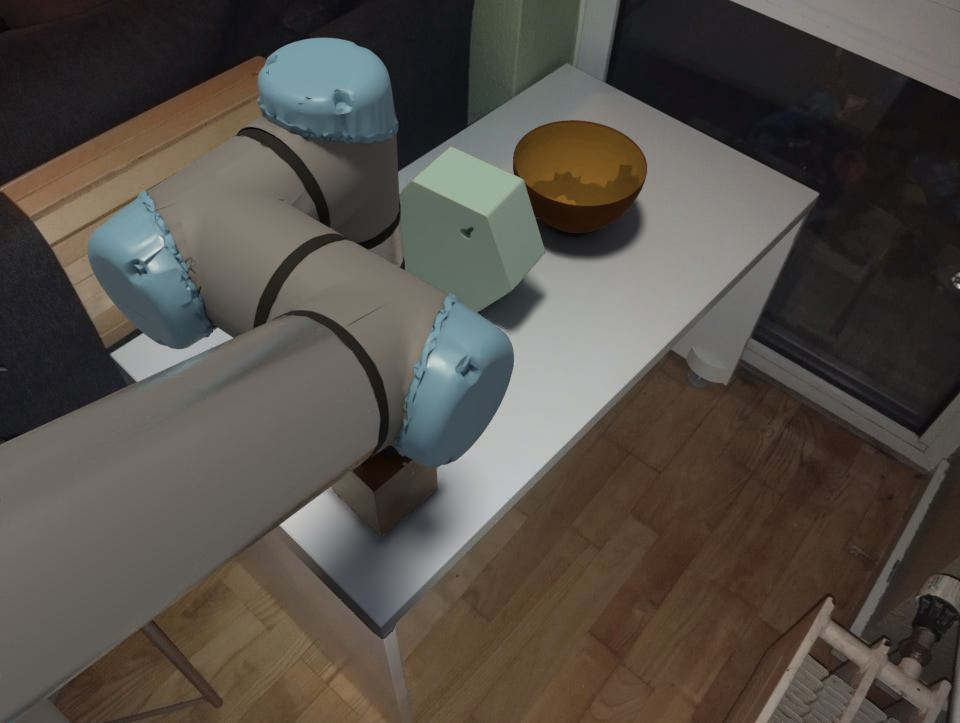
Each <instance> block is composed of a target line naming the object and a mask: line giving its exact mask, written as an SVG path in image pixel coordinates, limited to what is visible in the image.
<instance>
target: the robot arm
mask: <svg viewBox="0 0 960 723" xmlns="http://www.w3.org/2000/svg"><path fill="white" fill-rule="evenodd" d="M265 60H266V61H265V63H264V65H263V67H262V68H261V69H260V71H259V72H258V75H257V90H258V97H257V104H258V106H259V110H260V113H261V114H260V116H259V117H257V118H256V119H255V120H253V121H251V122H250V123H248V124H246V125H245V126H243V127H242V128H240V130H239V131H237V133H236V134H235V135H234V136H232V137H231V138H228V139H227V140H226V141H223V142H222V143H221V144H219V145H218V146H216V147H214V148H213V149H211V150H210V151H207V153H205V154H203V155H202V156H200V157H199V158H197V159H196V160H194V161H193V162H191V163H190V164H188V165H186V166H185V167H183V168H181V169H180V170H179V171H177V172H175V173H173V174H172V175H170V176H169V177H168V178H166V179H164V180H163V181H161V182H159V183H158V184H156V185H154V186H153V187H151V188H150V189H148V190H146V189H144V190H142V191H140V192H139V193H138V195H137V197H136V198H135V199H134V200H133V201H131V202H129V203H128V204H127V205H125V206H124V207H123V208H121V209H120V210H119V211H117V212H116V213H115V214H113V215H111V216H110V217H109V219H108V220H106V221H105V222H104V223H102V224H101V225H100V226H98V227H97V228H96V229H95V230H94V231H93V232H92V233H91V234H90V237H89V240H88V241H87V248H86V249H87V250H86V251H87V252H86V253H87V259H88V262H89V266H90V268H91V270H92V272H93V275H94V276H95V278H96V280H97V282H98V283H99V284H100V286H101V288H102V289H103V291H104V292H105V294H106V295H107V296H108V298H109V299H110V300H111V302H112V303H113V304H114V306H115V307H116V308H117V309H118V311H120V312H121V314H122V315H123V316H124V317H125V318H126V319H127V320H128V321H129V322H130V323H131V324H132V325H133V326H134V327H136V328H137V329H138V330H139V331H140V332H141V333H143V335H145V336H146V337H148V338H149V339H150V340H152V341H153V342H155V343H157V344H158V345H160V346H164V347H168V348H170V349H173V350H184V349H187V348H190V347H191V346H193V345H195V344H196V343H198V342H199V341H202V339H204V338H209V337H210V336H211V334H212V333H214V331H215V330H217V329H219V330H221V331H222V332H224V333H225V334H227V335H228V336H230V337H231V338H230V339H228V340H226V341H224V342H222V343H219V344H217V345H215V346H214V347H211V348H209V349H207V350H204V351H201V352H200V353H197V354H196V355H193V356H190V357H189V358H187V359H184V360H182V361H180V362H178V363H176V364H174V365H172V366H169V367H167V368H165V369H163V370H161V371H158V372H156V373H154V374H152V375H150V376H147V377H145V378H143V379H141V380H139V381H137V382H134V383H132V384H129V385H128V386H126V387H122V388H121V389H118V390H117V391H114V392H112V393H110V394H108V395H105V396H104V397H101V398H100V399H97V400H94V401H93V402H90V403H88V404H86V405H84V406H82V407H79V408H77V409H75V410H73V411H71V412H68V413H66V414H64V415H62V416H60V417H58V418H55V419H53V420H51V421H49V422H46V423H45V424H42V425H40V426H38V427H36V428H33V429H32V430H29V431H27V432H24V433H23V434H19V436H16V437H14V438H12V439H9V440H7V441H5V442H3V443H1V444H0V723H72V722H71V721H70V720H69V719H68V718H67V716H66V715H65V714H63V713H62V711H61V710H59V708H58V707H57V706H55V704H54V703H53V702H52V701H51V700H50V698H49V697H51V696H52V695H53V694H55V693H56V692H57V691H59V689H61V688H63V687H64V686H66V685H67V684H68V683H69V682H70V681H72V680H73V679H74V678H76V677H77V676H79V675H80V674H81V673H83V672H84V671H86V670H87V669H88V668H89V667H91V666H92V665H94V664H95V663H96V662H98V661H99V660H100V659H102V658H103V657H104V656H105V655H107V654H108V653H109V652H111V651H112V650H113V649H115V648H116V647H118V646H120V644H122V643H123V642H125V640H127V639H128V638H130V637H131V636H132V635H134V634H136V632H138V631H140V629H142V628H143V627H145V626H146V625H147V624H149V623H150V622H151V621H153V620H154V619H156V617H158V616H160V615H161V614H162V613H163V612H165V611H166V610H167V609H169V608H170V607H171V606H173V605H174V604H175V603H177V602H178V601H179V600H181V599H183V597H185V596H186V595H188V594H189V593H190V592H192V591H193V590H195V588H197V587H199V585H201V584H202V583H203V582H205V581H206V580H207V579H209V578H211V577H212V576H213V575H214V574H216V573H217V572H218V571H220V570H221V569H222V568H224V567H225V566H227V565H228V564H229V563H230V562H232V561H233V560H235V559H236V558H237V557H239V556H240V555H241V554H242V553H244V552H245V551H246V550H248V549H249V548H251V547H252V546H253V545H255V544H257V542H259V541H260V540H261V539H263V538H264V537H265V536H267V535H269V533H271V532H272V531H273V530H275V529H276V528H278V527H279V526H280V525H281V524H283V523H284V522H286V521H287V520H289V519H290V518H291V517H292V516H294V515H295V514H296V513H297V512H299V511H301V510H302V509H303V508H304V507H306V506H307V505H308V504H309V503H311V502H312V501H314V500H315V499H316V498H318V497H320V496H321V495H322V494H323V493H324V492H326V491H327V490H328V489H330V488H332V487H331V486H332V485H334V484H335V483H336V482H338V481H339V480H340V479H342V478H343V477H345V476H346V475H347V474H349V473H350V472H351V471H353V470H354V469H355V468H357V467H358V466H359V465H361V464H362V463H363V462H365V461H366V460H368V459H369V458H370V457H372V456H374V455H375V454H377V453H378V452H380V456H382V457H383V458H384V459H385V460H387V459H388V458H389V457H391V456H392V455H393V454H394V453H395V452H397V451H398V453H399V454H400V455H401V456H404V455H405V456H407V457H409V458H411V459H413V460H415V461H417V462H418V463H420V464H422V465H424V466H427V467H437V468H440V467H441V466H447V465H449V464H451V463H453V462H456V461H457V460H459V459H460V458H461V457H463V455H465V454H466V453H467V452H468V451H470V449H471V448H472V447H473V446H474V445H475V444H476V442H477V441H478V440H479V439H480V437H481V436H482V435H483V434H484V432H485V431H486V429H487V428H488V427H489V425H490V423H491V422H492V420H494V419H493V418H494V417H495V416H496V414H497V412H498V410H499V408H500V406H501V404H502V402H503V400H504V398H505V396H506V393H507V390H508V389H509V388H508V387H509V385H510V382H511V380H512V379H511V378H512V375H513V371H514V366H515V350H514V346H513V344H512V341H511V339H510V337H509V336H508V334H507V333H506V332H505V331H503V330H502V329H501V328H500V327H499V326H498V325H496V324H494V323H493V322H491V321H490V320H489V319H487V318H486V317H484V316H483V315H481V314H480V313H479V312H478V313H476V312H475V311H473V310H472V309H470V308H469V307H468V306H466V305H465V304H463V303H462V302H460V301H459V299H458V297H457V296H455V295H453V294H450V293H449V295H448V294H446V293H445V292H443V291H441V290H439V289H437V288H436V287H434V286H432V285H430V284H428V283H427V282H425V281H423V280H421V279H419V278H418V277H416V276H414V275H412V274H410V273H409V272H407V271H405V260H404V256H403V254H404V250H403V237H402V224H401V205H400V198H399V194H400V182H399V181H400V180H399V161H398V137H397V136H398V135H397V133H398V132H399V120H398V117H397V115H396V110H395V102H394V96H393V89H392V84H391V78H390V75H389V71H388V69H387V67H386V65H385V64H384V62H383V61H382V60H381V58H379V56H377V54H375V53H374V52H373V51H372V50H370V49H368V48H366V47H363V46H360V45H358V44H356V43H355V42H353V41H350V40H346V39H341V38H334V37H314V38H306V39H301V40H297V41H293V42H291V43H288V44H286V45H283V46H282V47H280V48H278V49H276V50H275V51H274V52H272V53H271V54H269V56H268V57H267V58H266V59H265Z"/></svg>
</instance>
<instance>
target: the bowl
mask: <svg viewBox="0 0 960 723" xmlns="http://www.w3.org/2000/svg"><path fill="white" fill-rule="evenodd" d="M512 171H513V172H512V173H513V175H515V176H518V177H520V178H522V179H523V180H524V182H525V185H526V189H527V192H528V195H529V199H530V202H531V205H532V209H533V212H534V215H535V218H537V219H538V220H539V221H541V222H542V223H544V224H545V225H547V226H549V227H552V228H554V229H556V230H559V231H561V232H564V233H568V234H569V233H570V234H584V233H591V232H595V231H598V230H601V229H603V228H606V227H608V226H609V225H611V224H612V223H614V222H616V221H617V220H618V219H620V217H622V216H623V215H624V214H625V213H626V212H627V211H628V210H629V209H630V208H631V207H632V205H633V204H634V203H635V202H636V201H637V199H638V197H639V195H640V193H641V192H642V190H643V188H644V186H645V185H644V184H645V182H646V180H647V175H648V162H647V158H646V156H645V154H644V152H643V150H642V149H641V148H640V146H639V145H638V144H637V142H635V141H634V140H633V139H631V137H629V136H628V135H626V134H625V133H623V132H622V131H620V130H618V129H615V128H613V127H611V126H608V125H605V124H602V123H598V122H594V121H589V120H578V119H570V120H569V119H568V120H559V121H552V122H549V123H545V124H542V125H539V126H537V127H535V128H533V129H531V130H530V131H529V132H527V133H526V134H524V135H523V136H522V137H521V139H519V141H518V142H517V144H516V145H515V148H514V150H513V156H512Z"/></svg>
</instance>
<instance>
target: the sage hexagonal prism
mask: <svg viewBox="0 0 960 723" xmlns="http://www.w3.org/2000/svg"><path fill="white" fill-rule="evenodd" d="M399 198H400V205H401V224H402V237H403V250H404V254H403V256H404V260H405V271H407V272H409V273H410V274H412V275H414V276H416V277H418V278H419V279H421V280H423V281H425V282H427V283H428V284H430V285H432V286H434V287H436V288H437V289H439V290H441V291H443V292H445V293H446V294H448V295H449V293H450V294H453V295H455V296H457V297H458V299H459V301H460V302H462V303H463V304H465V305H466V306H468V307H469V308H470V309H472V310H473V311H475V312H476V313H478V314H479V312H481V311H482V310H484V309H486V308H487V307H489V306H490V305H492V304H494V303H495V302H497V301H499V300H500V299H502V298H503V297H504V296H506V295H508V294H510V293H511V292H512V291H513V290H514V289H515V288H516V287H517V286H518V285H519V283H521V281H522V280H523V279H524V278H525V277H526V276H527V275H528V273H529V272H530V271H531V270H532V269H533V268H534V266H536V264H537V263H539V261H540V260H541V259H542V257H543V256H544V255H545V254H546V250H545V246H544V243H543V239H542V236H541V233H540V232H541V231H540V229H539V226H538V223H537V219H536V216H535V215H534V212H533V209H532V205H531V202H530V199H529V195H528V192H527V189H526V185H525V182H524V180H523V179H522V178H520V177H518V176H515V175H514V173H511V172H509V171H507V170H504V169H502V168H500V167H498V166H495V165H493V164H491V163H488V162H487V161H485V160H482V159H480V158H478V157H475V156H473V155H471V154H469V153H467V152H464V151H462V150H460V149H458V148H455V147H454V146H449V147H448V148H446V149H445V150H444V151H443V152H442V153H441V154H440V155H438V157H436V158H435V159H434V160H433V161H432V162H431V163H429V164H428V165H427V166H426V167H425V168H423V170H421V171H420V172H419V173H418V174H417V175H416V176H415V177H414V178H412V179H411V180H410V182H408V183H407V185H406V186H405V187H404V188H403V189H402V190H401V191H399Z"/></svg>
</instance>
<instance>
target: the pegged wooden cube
mask: <svg viewBox="0 0 960 723" xmlns="http://www.w3.org/2000/svg"><path fill="white" fill-rule="evenodd" d="M330 488H331V489H332V490H333V491H334V492H335V494H336V495H338V496H339V497H340V498H341V499H342V500H343V501H344V502H345V503H346V504H347V505H348V506H349V507H350V508H351V509H352V510H353V511H354V512H355V513H356V514H357V515H358V516H359V517H360V518H361V519H362V520H363V521H364V522H365V523H366V524H367V525H368V526H369V527H370V528H371V529H372V530H373V531H374V532H375V533H376V534H377V535H378V536H379V537H380V538H383V537H384V536H385V535H386V534H388V532H390V531H392V529H394V528H395V526H396V525H398V524H399V523H400V522H401V521H402V520H403V519H405V518H406V517H407V516H408V515H409V514H410V513H412V511H414V510H415V509H416V508H417V507H418V506H419V505H421V504H422V502H424V501H425V500H426V499H427V498H428V497H429V496H431V495H432V494H433V493H434V492H435V491H436V490H437V489H438V467H427V466H424V465H422V464H420V463H418V462H417V461H415V460H413V459H411V458H409V457H407V456H405V455H404V456H401V455H400V454H399V453H398V451H397V452H395V453H394V454H393V455H392V456H391V457H389V458H388V459H387V460H385V459H384V458H383V457H382V456H380V452H378V453H377V454H375V455H374V456H372V457H371V458H370V459H369V460H367V461H366V462H365V463H364V464H362V465H359V466H358V467H357V468H355V469H354V470H353V471H351V472H350V473H349V474H347V475H346V476H345V477H343V478H342V479H340V480H339V481H338V482H336V483H335V484H334V485H332V486H331V487H330Z"/></svg>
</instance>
